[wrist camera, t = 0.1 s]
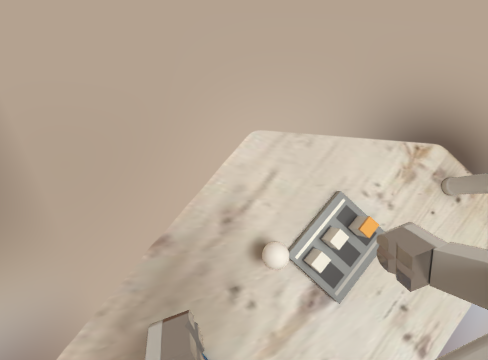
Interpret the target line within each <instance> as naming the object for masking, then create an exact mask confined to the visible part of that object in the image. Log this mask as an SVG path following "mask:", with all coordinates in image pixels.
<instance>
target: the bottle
mask: <svg viewBox="0 0 488 360" xmlns="http://www.w3.org/2000/svg"><path fill="white" fill-rule="evenodd" d="M442 190H443V191H444V193H446V194H448V195H459V194H484V193H488V173H486V174H479V175H472V176H465V177H458V178H456V177H451V178H447V179H445V180H444V181H443V182H442Z"/></svg>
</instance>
